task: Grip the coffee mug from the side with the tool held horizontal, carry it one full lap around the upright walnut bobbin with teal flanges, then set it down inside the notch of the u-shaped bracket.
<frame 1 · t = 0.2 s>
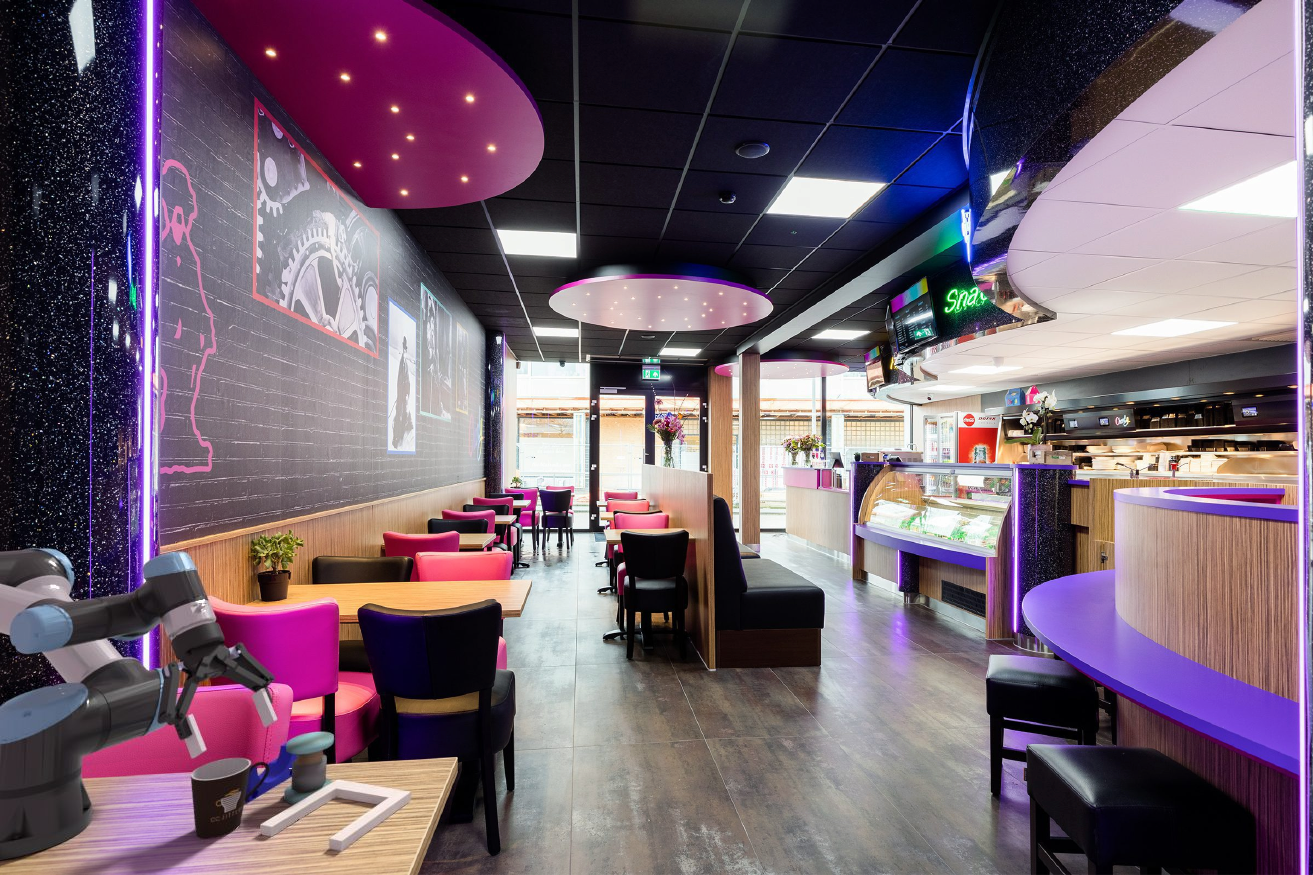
hand: (237, 738, 112), 14 cm above the table, tool tilted 35°, fingers open, 13 cm apart
bobbin: (308, 793, 121), on the table
u-shaped bracket: (339, 816, 113), on the table
coffee mug: (229, 826, 110), on the table
cable clip: (264, 787, 124), on the table
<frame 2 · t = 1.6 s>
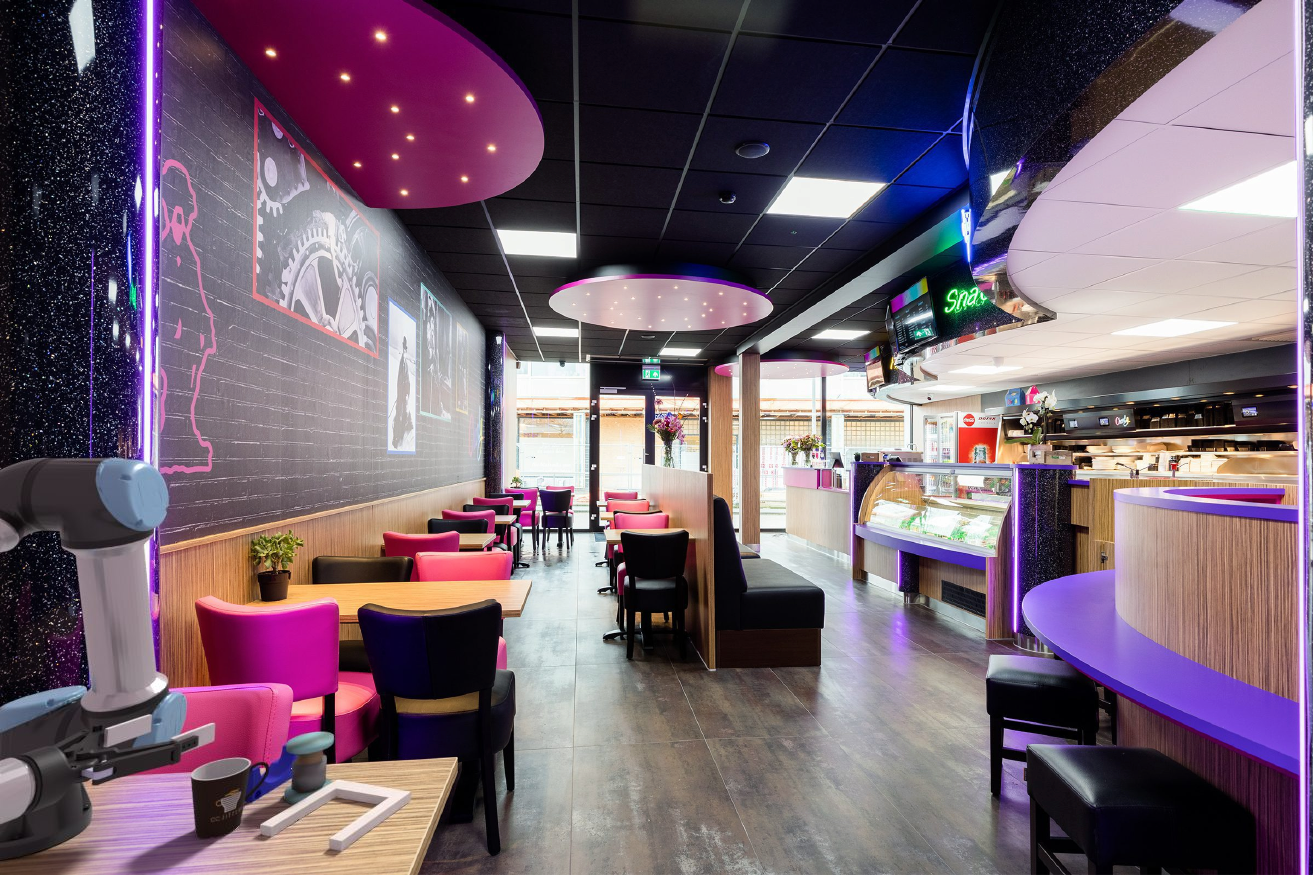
hand: (181, 727, 102), 20 cm above the table, tool horizontal, fingers open, 13 cm apart
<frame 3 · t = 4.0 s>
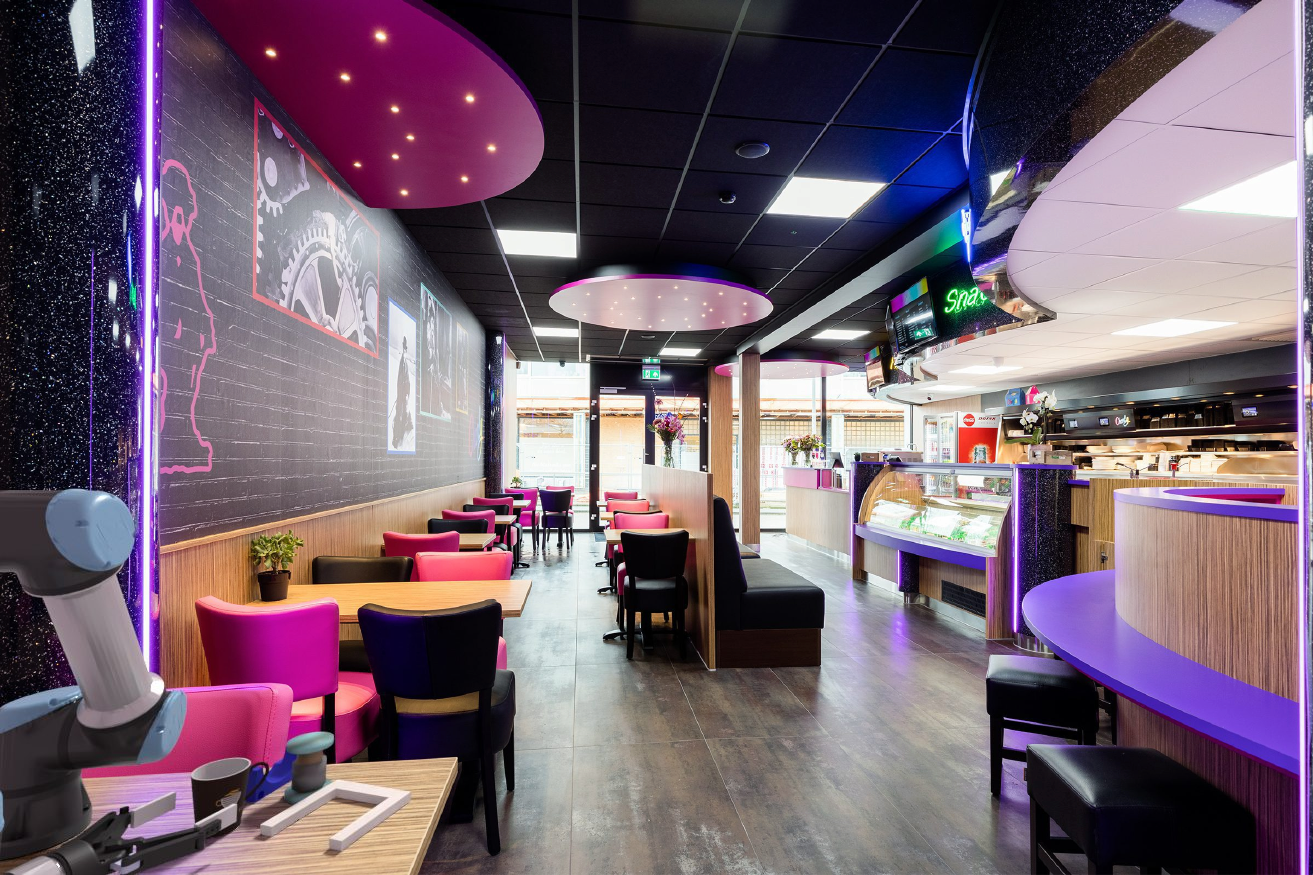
hand: (204, 805, 105), 6 cm above the table, tool horizontal, fingers open, 13 cm apart
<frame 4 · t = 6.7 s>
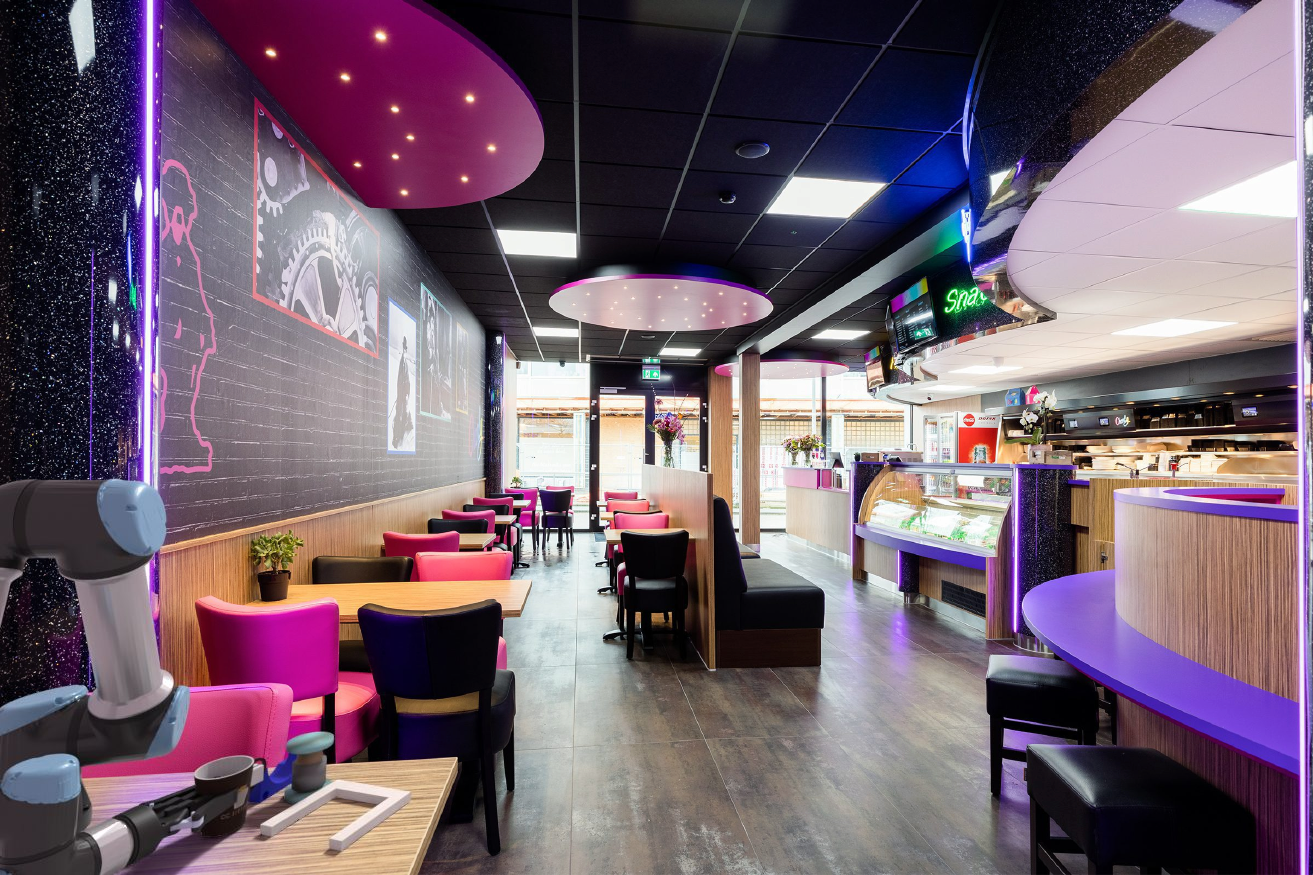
hand: (259, 771, 115), 7 cm above the table, tool horizontal, fingers closed on coffee mug
coffee mug: (233, 823, 110), on the table, touching gripper
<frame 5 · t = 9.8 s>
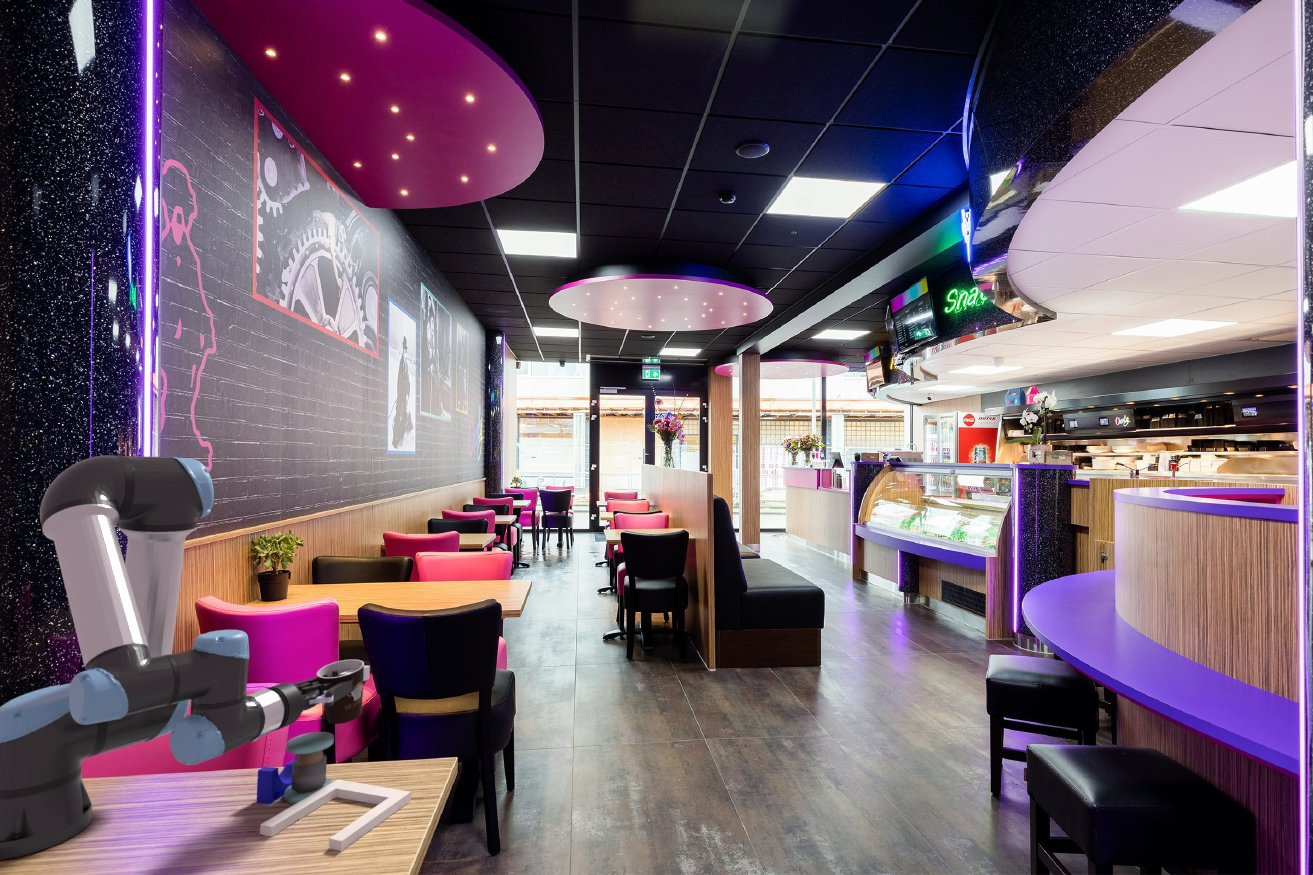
hand: (365, 671, 135), 19 cm above the table, tool horizontal, fingers closed on coffee mug
coffee mug: (352, 713, 130), point 12 cm above the table, touching gripper, hand
cable clip: (283, 789, 123), on the table
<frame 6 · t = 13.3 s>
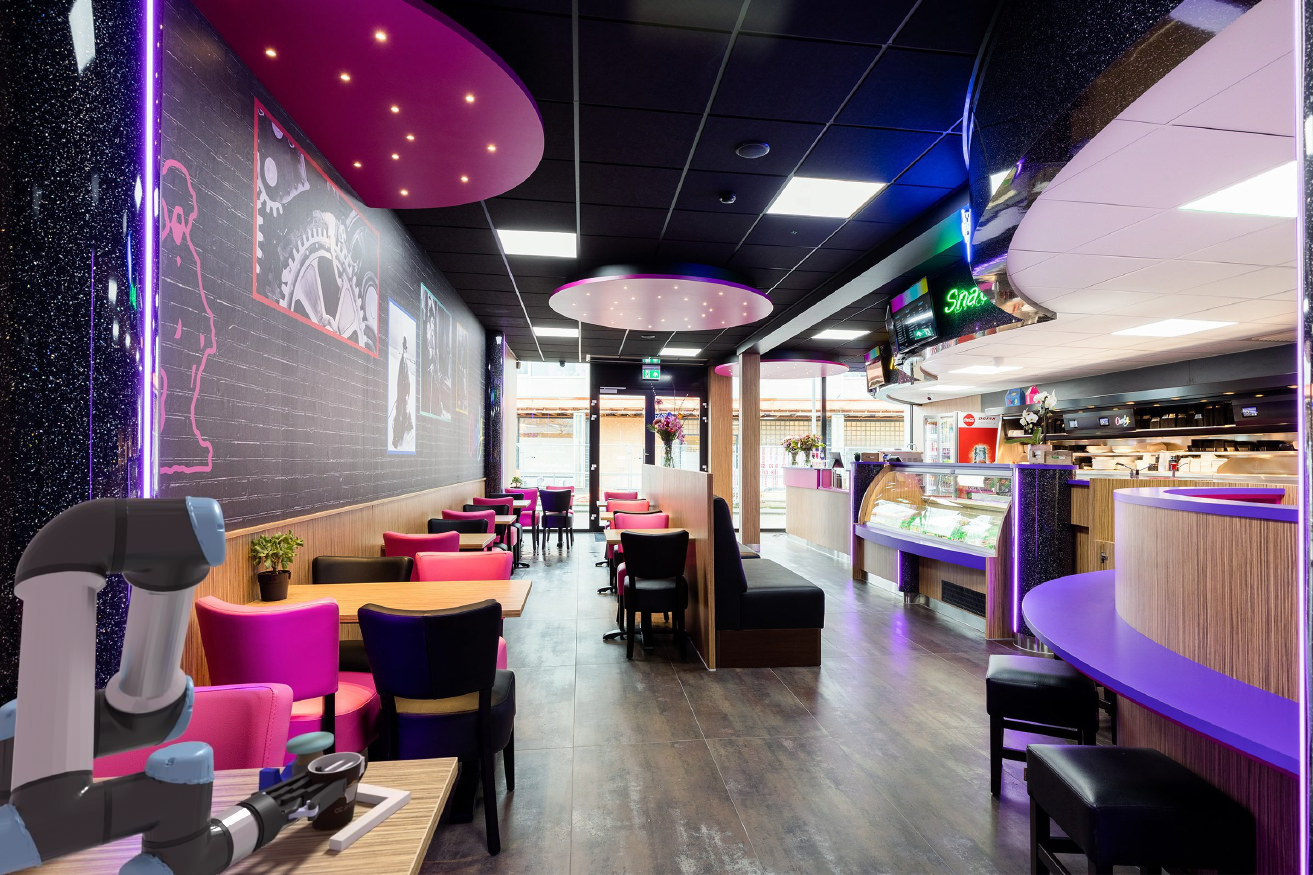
hand: (357, 763, 117), 8 cm above the table, tool horizontal, fingers closed on coffee mug, 2 cm apart
coffee mug: (341, 818, 112), resting in u-shaped bracket, touching gripper
everything else where it was.
when the fingers open (8 cm above the table, at t = 13.3 s): coffee mug stays where it is, resting in u-shaped bracket.
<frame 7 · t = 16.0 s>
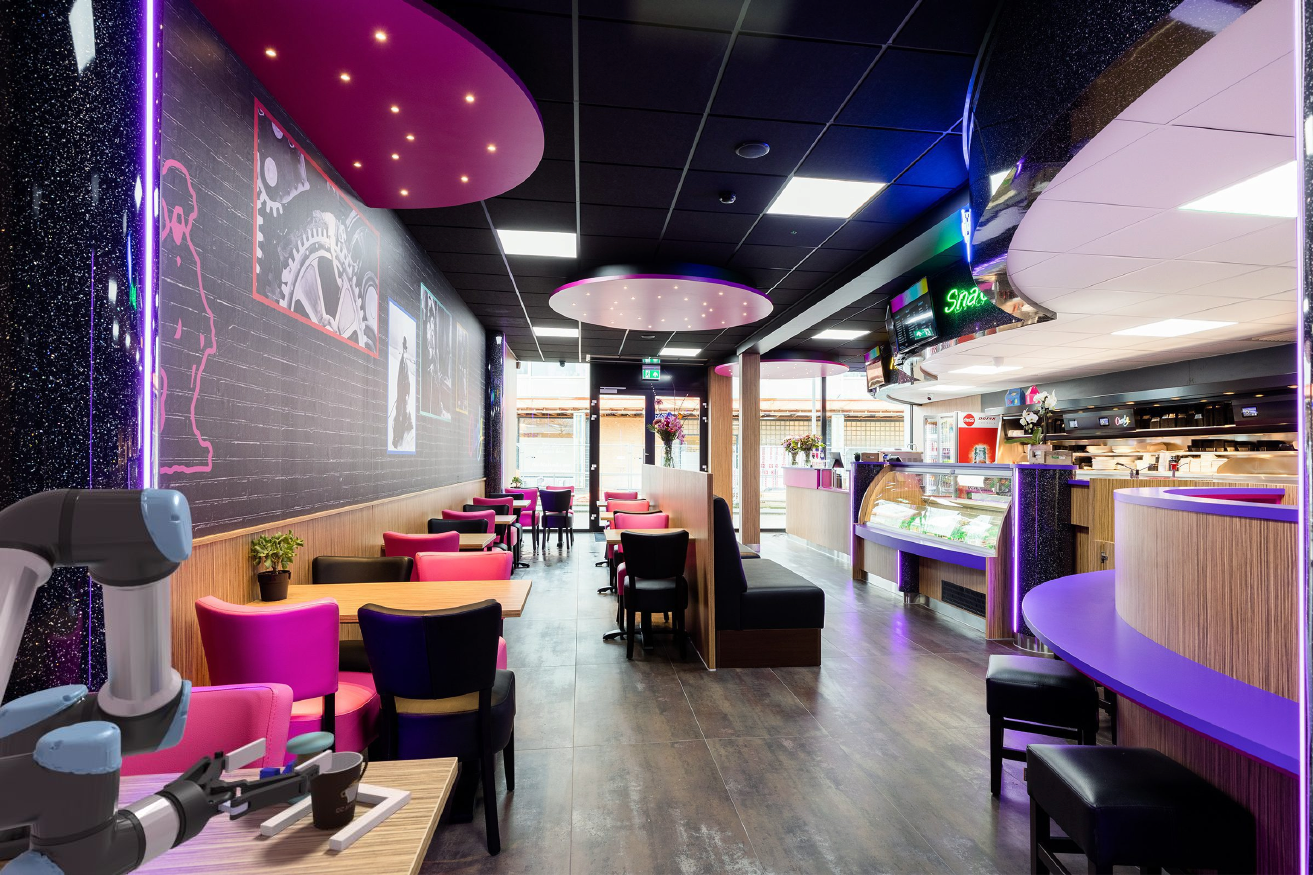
hand: (296, 752, 103), 16 cm above the table, tool horizontal, fingers open, 13 cm apart
coffee mug: (342, 818, 112), resting in u-shaped bracket
everything else where it was.
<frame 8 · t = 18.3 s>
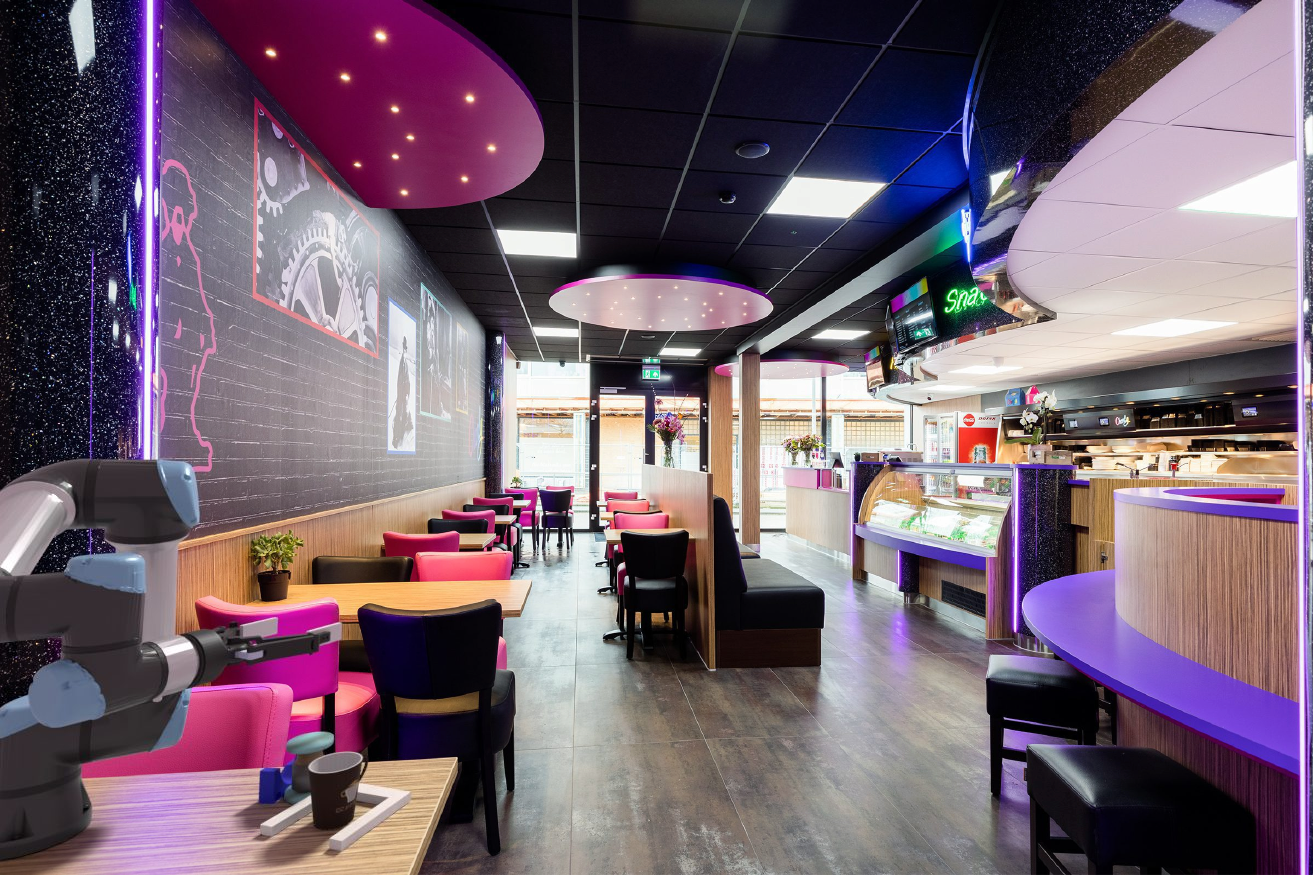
hand: (307, 627, 107), 35 cm above the table, tool horizontal, fingers open, 13 cm apart
nothing on the table moved.
at the end: coffee mug inside the target area (1.7 cm from its centre), resting in u-shaped bracket; coffee mug tilted 0°; the gripper is holding nothing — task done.
